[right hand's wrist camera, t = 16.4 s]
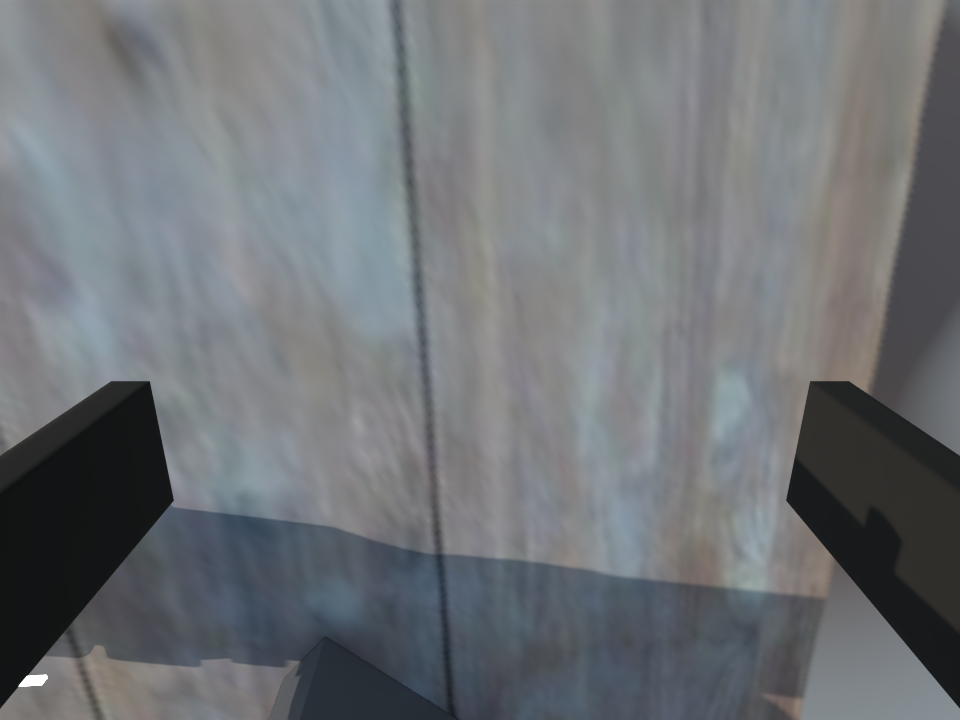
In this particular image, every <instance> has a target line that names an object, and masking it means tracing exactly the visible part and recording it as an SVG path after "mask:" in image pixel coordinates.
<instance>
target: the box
mask: <svg viewBox="0 0 960 720" xmlns="http://www.w3.org/2000/svg"><path fill="white" fill-rule="evenodd" d="M269 720H458V719H456V718H455V717H453V716H451V715H450V714H448V713H447V712H445V711H443V710H442V709H440V708H439V707H437V706H435V705H434V704H432V703H431V702H429V701H427V700H426V699H424V698H423V697H421V696H419V695H418V694H416V693H415V692H413V691H411V690H410V689H408V688H407V687H405V686H403V685H402V684H400V683H399V682H397V681H395V680H394V679H392V678H391V677H389V676H387V675H386V674H384V673H383V672H381V671H379V670H378V669H376V668H375V667H373V666H371V665H370V664H368V663H367V662H365V661H363V660H362V659H360V658H359V657H357V656H355V655H354V654H352V653H351V652H349V651H347V650H346V649H344V648H343V647H341V646H339V645H338V644H336V643H335V642H333V641H331V640H330V639H328V638H327V637H324V638H323V639H322V640H321V641H320V642H319V643H318V644H317V646H316V647H315V648H314V649H313V650H312V651H311V652H310V653H309V654H308V655H307V656H306V657H305V658H304V659H303V660H302V661H301V662H300V663H299V664H298V665H297V666H296V667H295V668H294V669H293V670H292V671H291V672H290V673H289V674H288V675H287V676H286V677H285V678H284V679H283V681H282V684H281V686H280V689H279V692H278V695H277V697H276V700H275V703H274V706H273V709H272V711H271V714H270V717H269Z"/></svg>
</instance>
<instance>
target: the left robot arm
mask: <svg viewBox="0 0 960 720" xmlns="http://www.w3.org/2000/svg"><path fill="white" fill-rule="evenodd" d="M46 679H47V675H37V676H27V677H26V678H25V679H24V680H23V682H22V683H21V684H20V685H19V686H34V685H42V684H43V683H44V682H45V680H46Z"/></svg>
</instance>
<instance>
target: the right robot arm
mask: <svg viewBox="0 0 960 720" xmlns="http://www.w3.org/2000/svg"><path fill="white" fill-rule="evenodd" d="M173 501H174V499H173V494H172V489H171V484H170V479H169V474H168V469H167V464H166V459H165V455H164V450H163V445H162V440H161V435H160V430H159V425H158V420H157V415H156V410H155V405H154V400H153V395H152V390H151V385H150V381H111V382H109V383H108V384H107V385H105V386H104V387H102V388H101V389H99V390H98V391H96V392H95V393H93V394H92V395H90V396H89V397H87V398H86V399H84V400H83V401H81V402H80V403H78V404H77V405H75V406H74V407H72V408H71V409H69V410H68V411H66V412H65V413H63V414H62V415H60V416H59V417H57V418H56V419H54V420H53V421H51V422H50V423H48V424H47V425H45V426H44V427H42V428H41V429H39V430H38V431H37V432H35V433H34V434H32V435H31V436H29V437H28V438H26V439H25V440H23V441H22V442H20V443H19V444H17V445H16V446H14V447H13V448H11V449H10V450H8V451H7V452H5V453H4V454H2V455H1V456H0V708H1V707H2V706H3V704H4V703H5V702H6V701H7V700H8V698H9V697H10V696H11V695H12V694H13V692H14V691H15V690H16V689H17V688H18V686H19V685H20V684H21V683H22V682H23V680H24V679H25V678H26V677H27V676H28V674H29V673H30V672H31V671H32V670H33V668H34V667H35V666H36V665H37V664H38V662H39V661H40V660H41V659H42V658H43V657H44V655H45V654H46V653H47V652H48V651H49V649H50V648H51V647H52V646H53V645H54V643H55V642H56V641H57V640H58V639H59V637H60V636H61V635H62V634H63V633H64V631H65V630H66V629H67V628H68V627H69V625H70V624H71V623H72V622H73V621H74V619H75V618H76V617H77V616H78V615H79V613H80V612H81V611H82V610H83V609H84V607H85V606H86V605H87V604H88V603H89V601H90V600H91V599H92V598H93V597H94V595H95V594H96V593H97V592H98V591H99V589H100V588H101V587H102V586H103V585H104V583H105V582H106V581H107V580H108V579H109V577H110V576H111V575H112V574H113V573H114V571H115V570H116V569H117V568H118V567H119V565H120V564H121V563H122V562H123V561H124V559H125V558H126V557H127V556H128V555H129V554H130V552H131V551H132V550H133V549H134V548H135V546H136V545H137V544H138V543H139V542H140V540H141V539H142V538H143V537H144V536H145V534H146V533H147V532H148V531H149V530H150V528H151V527H152V526H153V525H154V524H155V522H156V521H157V520H158V519H159V518H160V516H161V515H162V514H163V513H164V512H165V510H166V509H167V508H168V507H169V506H170V504H171V503H172V502H173ZM786 501H787V502H788V503H789V504H790V506H791V507H792V508H793V509H794V510H795V512H796V513H797V514H798V515H799V516H800V518H801V519H802V520H803V521H804V522H805V524H806V525H807V526H808V527H809V528H810V530H811V531H812V532H813V533H814V534H815V536H816V537H817V538H818V539H819V540H820V542H821V543H822V544H823V545H824V546H825V548H826V549H827V550H828V551H829V552H830V554H831V555H832V556H833V557H834V558H835V559H836V561H837V562H838V563H839V564H840V565H841V567H842V568H843V569H844V570H845V571H846V573H847V574H848V575H849V576H850V577H851V579H852V580H853V581H854V582H855V583H856V585H857V586H858V587H859V588H860V589H861V591H862V592H863V593H864V594H865V595H866V597H867V598H868V599H869V600H870V601H871V603H872V604H873V605H874V606H875V607H876V609H877V610H878V611H879V612H880V613H881V615H882V616H883V617H884V618H885V619H886V621H887V622H888V623H889V624H890V625H891V627H892V628H893V629H894V630H895V631H896V632H897V634H898V635H899V636H900V637H901V639H902V640H903V641H904V642H905V643H906V645H907V646H908V647H909V648H910V649H911V651H912V652H913V653H914V654H915V655H916V656H917V658H918V659H919V660H920V661H921V662H922V664H923V665H924V666H925V667H926V668H927V670H928V671H929V672H930V673H931V674H932V676H933V677H934V678H935V679H936V680H937V682H938V683H939V684H940V685H941V686H942V688H943V689H944V690H945V691H946V692H947V694H948V695H949V696H950V697H951V698H952V700H953V701H954V702H955V703H956V704H957V706H958V707H959V708H960V456H959V455H958V454H956V453H955V452H953V451H952V450H950V449H949V448H947V447H946V446H944V445H943V444H941V443H940V442H938V441H937V440H935V439H934V438H932V437H931V436H929V435H928V434H926V433H925V432H923V431H922V430H921V429H919V428H918V427H916V426H915V425H913V424H912V423H910V422H909V421H907V420H906V419H904V418H903V417H901V416H900V415H898V414H897V413H895V412H894V411H892V410H891V409H889V408H888V407H886V406H885V405H883V404H882V403H880V402H879V401H877V400H876V399H874V398H873V397H871V396H870V395H868V394H867V393H865V392H864V391H862V390H861V389H859V388H858V387H856V386H855V385H853V384H852V383H851V382H849V381H810V385H809V390H808V395H807V400H806V405H805V410H804V415H803V420H802V425H801V430H800V435H799V440H798V445H797V450H796V455H795V459H794V464H793V469H792V474H791V479H790V484H789V489H788V494H787V499H786Z"/></svg>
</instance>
